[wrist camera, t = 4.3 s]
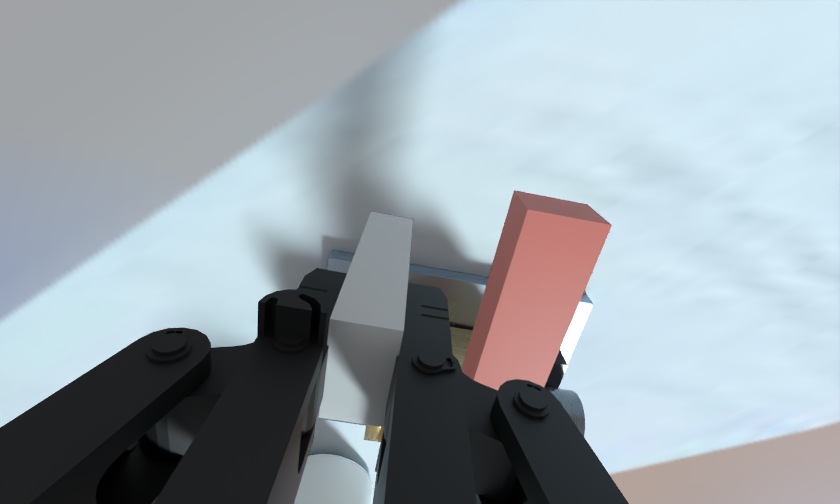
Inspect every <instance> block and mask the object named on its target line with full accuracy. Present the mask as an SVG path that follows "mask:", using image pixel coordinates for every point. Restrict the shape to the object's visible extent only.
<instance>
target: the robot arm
mask: <svg viewBox="0 0 840 504" xmlns="http://www.w3.org/2000/svg"><path fill="white" fill-rule="evenodd" d="M412 228H413V219H409V218H404V217H398V216H393V215H387V214H382V213H376V212H370V215H369V218H368V220H367V223H366V225H365V228H364V231H363V233H362V236H361V239H360V241H359V244H358V246H357V249H356V252H355V254H354V257H353V259H352V262H351V265H350V267H349V270H348V273H342V272H336V271H331V270H325V269H319V268H317V269H315V270H314V271H312V272H310V273H309V274H307V275H305V277H304V279H303V280H302V282H301V284H300V285H299V288H298V289H297V290H290V289H289V290H282V291H276V292H273V293H271V294H268V295H266V296H265V297H263V298H262V299H261V300H260V301H259V302H258V336H257V338H256V340H255V341H254V343H250V344H247V345H241V346H234V347H218V348H211V343H210V341H209V339H208V338H207V336H206V335H205V334H203V333H201V332H199V331H198V330H194V329H188V328H168V329H164V330H160V331H156V332H152V333H150V334H148V335H146V336H144V337H142V338H140V339H138V340H137V341H135V342H133V343H132V344H130V345H129V346H127V347H126V348H124V349H122V350H121V351H119V352H118V353H116V354H115V355H113V356H112V357H110V358H108V359H107V360H105V361H104V362H102V363H101V364H99V365H98V366H96V367H94V368H93V369H91V370H90V371H88V372H87V373H85V374H83V375H82V376H80V377H79V378H77V379H76V380H74V381H73V382H71V383H69V384H68V385H66V386H65V387H63V388H62V389H60V390H59V391H57V392H55V393H54V394H52V395H51V396H49V397H48V398H46V399H45V400H43V401H41V402H40V403H38V404H37V405H35V406H34V407H32V408H30V409H29V410H27V411H26V412H24V413H23V414H21V415H20V416H18V417H16V418H15V419H13V420H12V421H10V422H9V423H7V424H6V425H4V426H2V427H1V428H0V504H294V502H295V498H296V495H297V492H298V488H299V485H300V482H301V478H302V475H303V472H304V468H305V465H306V462H307V458H308V455H309V452H310V448H311V445H312V442H313V438H314V429H315V421H316V418H317V415H318V411H319V418H325V419H332V420H338V421H345V422H352V423H359V424H366V425H372V426H379V427H384V430H383V435H382V440H381V444H380V449H379V454H378V459H377V464H376V468H375V471H376V472H377V474H376V482H375V490H374V498H373V504H629V503H628V502H627V500H626V499H625V498H624V496H623V494H622V493H621V492H620V490H619V489H618V487H617V486H616V484H615V483H614V481H613V480H612V478H611V477H610V475H609V474H608V472H607V471H606V469H605V468H604V466H603V465H602V463H601V462H600V460H599V459H598V457H597V456H596V454H595V453H594V452H593V450H592V449H591V447H590V446H589V444H588V443H587V441H586V440H585V438H584V437H583V435H582V434H581V432H580V431H579V429H578V428H577V426H576V425H575V423H574V422H573V420H572V419H571V417H570V416H569V414H568V413H567V412H566V410H565V409H564V407H563V406H562V404H561V403H560V402H559V400H558V399H557V398H556V397H555V396H554V395H553V394H552V393H551V392H550V391H548V390H547V389H545V388H544V387H542V386H541V385H538V384H536V383H533V382H531V381H528V380H520V379H514V380H509V381H506V382H504V383H503V384H502V385H501V386H500V387H499V389H498V390H495V389H493V388H490V387H488V386H485V385H483V384H481V383H479V382H477V381H475V380H473V379H471V378H470V377H468V376H467V375H465V374H464V373H463V372H462V369H461V366H460V364H459V361H458V359H457V358H456V357H455V356H454V355H453V354H452V343H451V332H450V321H449V312H448V300H447V297H446V296H445V295H444V293H443V292H442V291H441V289H440V288H437V287H431V286H425V285H420V284H414V283H408V275H409V263H410V252H411V240H412ZM319 408H320V410H319Z"/></svg>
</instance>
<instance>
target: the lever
mask: <svg viewBox="0 0 840 504" xmlns="http://www.w3.org/2000/svg"><path fill="white" fill-rule="evenodd" d="M611 226H612V225H611V224H610V223H609V222H607V221H606V220H605V219H604V218H603V217H601V216H600V215H599V214H598V213H597V212H596V211H594V210H593V209H592V208H591V207H590V206H588V205H587V204H582V203H577V202H572V201H566V200H561V199H556V198H551V197H546V196H540V195H535V194H530V193H525V192H520V191H514V193H513V196H512V200H511V203H510V207H509V210H508V213H507V217H506V220H505V223H504V227H503V230H502V233H501V237H500V240H499V244H498V247H497V250H496V254H495V257H494V260H493V264H492V267H491V270H490V274H489V277H488V281H487V284H486V287H485V291H484V294H483V297H482V301H481V304H480V308H479V311H478V314H477V318H476V321H475V324H474V328H473V331H472V334H471V338H470V341H469V345H468V348H467V351H466V355H465V358H464V361H463V365H462V368H461V369H462V372H463V373H464V374H465V375H467V376H468V377H470V378H471V379H473V380H475V381H477V382H479V383H481V384H483V385H485V386H488V387H490V388H493V389H495V390H498V389H499V387H500V386H501V385H502V384H503V383H504V382H506V381H509V380H514V379H520V380H528V381H531V382H533V383H536V384H538V385H541V386H542V387H544V386H545V384H546V382H547V379H548V377H549V374H550V372H551V370H552V367H553V365H554V362H555V360H556V358H557V355H558V353H559V350H560V348H561V346H562V343H563V341H564V338H565V336H566V334H567V331H568V329H569V326H570V324H571V322H572V319H573V317H574V314H575V312H576V310H577V307H578V305H579V302H580V300H581V298H582V295H583V293H584V291H585V288H586V286H587V283H588V281H589V279H590V276H591V274H592V271H593V269H594V267H595V264H596V262H597V259H598V257H599V255H600V252H601V250H602V247H603V245H604V243H605V240H606V238H607V235H608V233H609V231H610V228H611Z"/></svg>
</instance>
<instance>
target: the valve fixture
mask: <svg viewBox="0 0 840 504" xmlns="http://www.w3.org/2000/svg"><path fill="white" fill-rule="evenodd" d="M353 257H354V254H351V253H346V252H340V251H334V250H332V252H331V254H330V256H329V258H328V267H327V270H331V271H336V272H342V273H348V270H349V267H350V265H351V262H352V259H353ZM487 281H488V277H482V276H476V275H471V274H465V273H459V272H454V271H448V270H442V269H437V268H431V267H425V266H420V265H414V264H409V275H408V283H414V284H420V285H425V286H431V287H437V288H440V289H441V291H442V292H443V293H444V295H445V296H446V297H447V300H448V312H449V321H450V332H451V343H452V354H453V355H454V356H455V357H456V358H457V359H458V361H459V364H460V366H461V368H462V365H463V361H464V358H465V355H466V351H467V348H468V345H469V341H470V338H471V334H472V331H473V328H474V324H475V321H476V318H477V314H478V311H479V308H480V304H481V301H482V297H483V294H484V291H485V287H486V284H487ZM592 306H593V303H592V301H591V300H590V298H589V297H588V296H587V295H585V294H583V295H582V298H581V300H580V302H579V305H578V307H577V310H576V312H575V314H574V317H573V319H572V322H571V324H570V326H569V329H568V331H567V334H566V336H565V338H564V341H563V343H562V346H561V348H560V350H559V353H558V355H557V358H556V360H555V362H554V365H553V367H552V370H551V372H550V374H549V377H548V379H547V382H546V384H545V386H544V388H545V389H547V390H548V391H550V392H551V393H552V394H553V395H554V396H555V397H556V398H557V399H558V400H559V402H560V403H561V404H562V406H563V407H564V409H565V410H566V412H567V413H568V414H569V416H570V417H571V419H572V420H573V422H574V423H575V425H576V426H577V428H578V429H579V431H580V432H581V434H582V435H583V437H584V431H585V417H584V410H583V406H582V403H581V400H580V398H579V397H578V395H577V394H576V393H575V392H574V391H571V390H564V389H558V387H559V385H560V383H561V380H562V378H563V376H564V373H565V371H566V369H567V366H568V362H569V359H570V357H571V355H572V352H573V350H574V348H575V345H576V343H577V341H578V339H579V336H580V334H581V332H582V329H583V327H584V325H585V322H586V320H587V318H588V316H589V313H590V311H591V309H592ZM319 410H320V408H319ZM317 418H319V411H318V415H317ZM319 419H325V418H319ZM325 420H332V419H325ZM332 421H338V420H332ZM339 422H345V421H339ZM346 423H352V422H346ZM353 424H359V423H353ZM359 425H366V424H359ZM383 430H384V427H379V426H372V425H366V429H365V436H364V440H370V441H377V442H381V440H382V435H383Z"/></svg>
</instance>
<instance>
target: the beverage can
mask: <svg viewBox="0 0 840 504" xmlns="http://www.w3.org/2000/svg"><path fill="white" fill-rule="evenodd" d="M372 494H373V483H372V480H371V478H370V476H369V474H368V473H367V472H366V470H365V469H364V468H362V467H361V466H360V465H359V464H357V463H356V462H354V461H352V460H350V459H348V458H345V457H342V456H338V455H332V454H315V455H310V456H308V458H307V462H306V465H305V468H304V472H303V475H302V478H301V482H300V485H299V488H298V492H297V495H296V498H295V502H294V504H371V502H372Z"/></svg>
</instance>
